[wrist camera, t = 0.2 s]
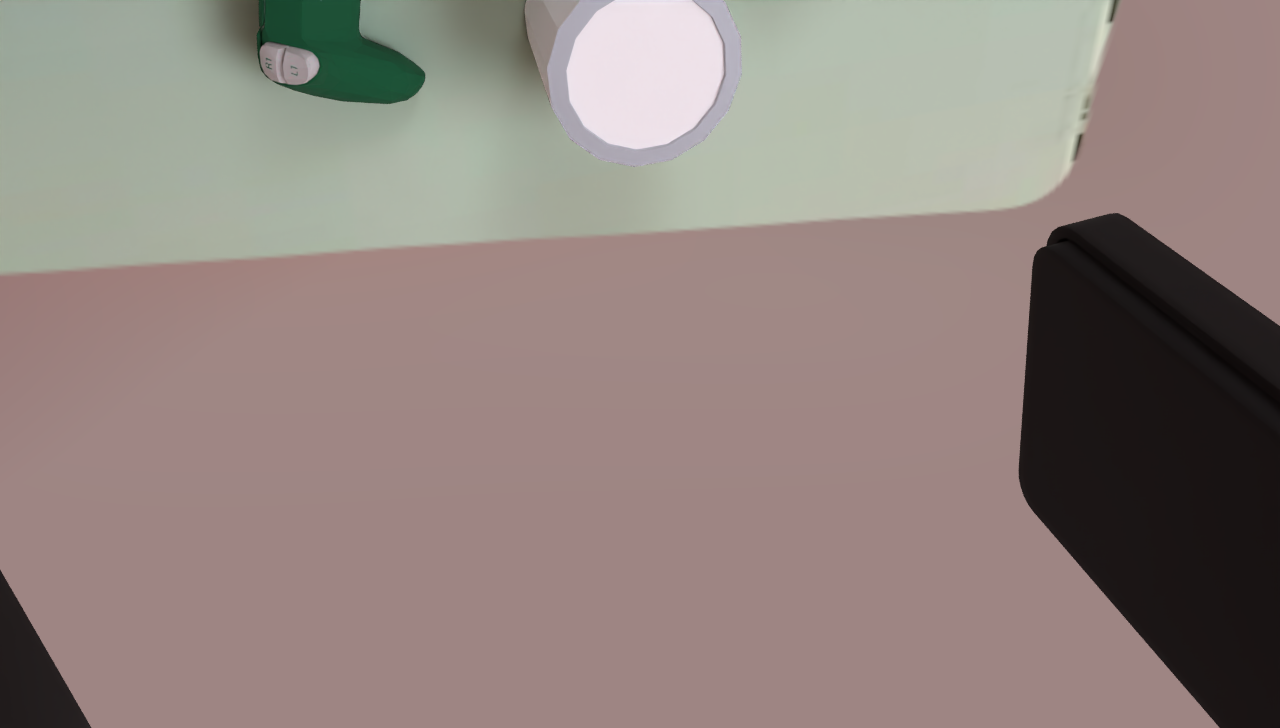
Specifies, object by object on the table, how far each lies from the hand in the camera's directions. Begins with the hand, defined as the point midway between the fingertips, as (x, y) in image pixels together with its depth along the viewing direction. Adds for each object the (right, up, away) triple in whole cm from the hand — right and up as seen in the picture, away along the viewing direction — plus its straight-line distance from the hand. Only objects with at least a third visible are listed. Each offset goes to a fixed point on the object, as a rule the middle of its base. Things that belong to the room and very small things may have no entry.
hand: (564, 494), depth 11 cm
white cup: (-1, +15, +36) cm, 39 cm away
